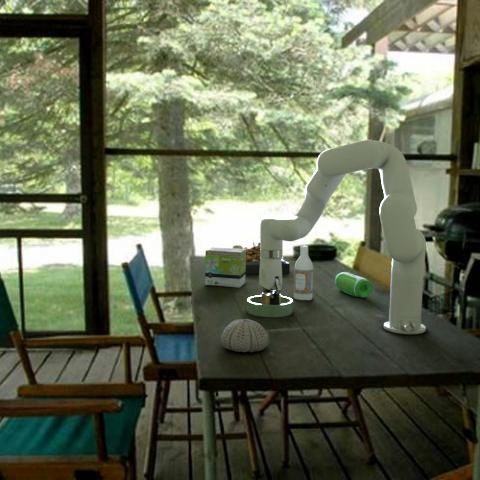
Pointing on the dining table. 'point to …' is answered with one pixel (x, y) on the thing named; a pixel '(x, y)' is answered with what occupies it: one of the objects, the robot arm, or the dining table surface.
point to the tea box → (225, 267)
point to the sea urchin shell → (244, 336)
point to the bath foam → (303, 276)
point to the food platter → (257, 260)
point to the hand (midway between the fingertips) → (271, 307)
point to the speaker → (353, 284)
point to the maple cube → (268, 298)
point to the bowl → (269, 307)
